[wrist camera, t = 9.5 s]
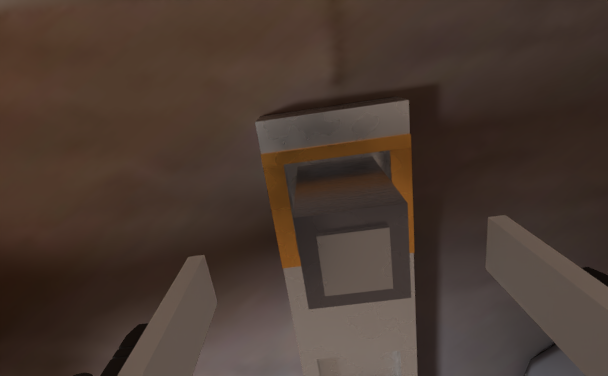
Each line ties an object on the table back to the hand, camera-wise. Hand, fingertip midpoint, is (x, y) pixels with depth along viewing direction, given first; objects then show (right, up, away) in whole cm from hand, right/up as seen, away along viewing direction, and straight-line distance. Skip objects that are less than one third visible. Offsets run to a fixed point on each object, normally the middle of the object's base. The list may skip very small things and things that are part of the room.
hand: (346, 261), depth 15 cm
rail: (+2, -4, +11) cm, 12 cm away
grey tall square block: (0, +3, +7) cm, 8 cm away
